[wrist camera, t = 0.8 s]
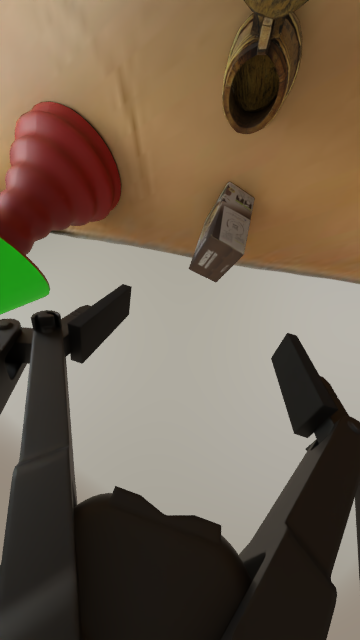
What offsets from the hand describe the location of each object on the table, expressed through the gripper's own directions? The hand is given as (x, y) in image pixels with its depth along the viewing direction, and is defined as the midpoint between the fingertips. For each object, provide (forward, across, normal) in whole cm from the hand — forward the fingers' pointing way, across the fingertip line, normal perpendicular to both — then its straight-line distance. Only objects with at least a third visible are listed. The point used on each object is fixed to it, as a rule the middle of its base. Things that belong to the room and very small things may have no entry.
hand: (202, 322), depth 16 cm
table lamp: (+34, -34, +9) cm, 49 cm away
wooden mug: (+24, -2, +26) cm, 36 cm away
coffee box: (+35, 0, +9) cm, 36 cm away
